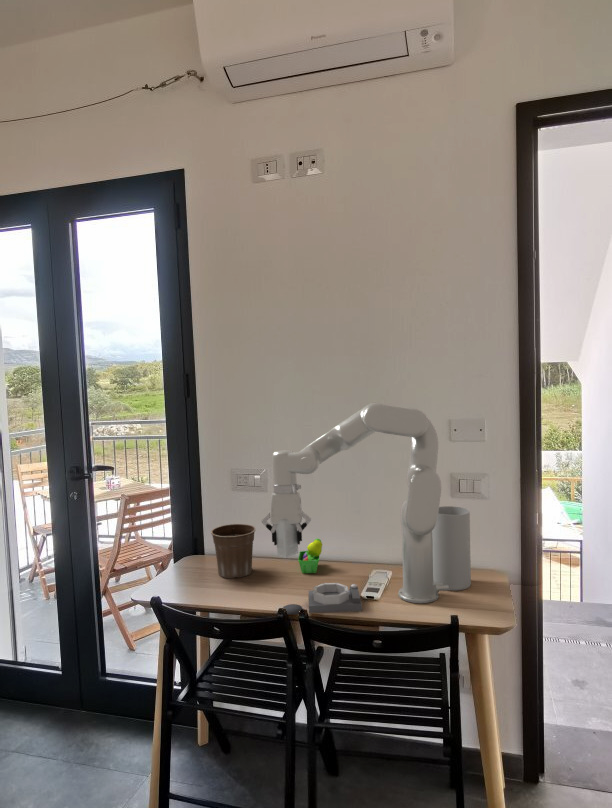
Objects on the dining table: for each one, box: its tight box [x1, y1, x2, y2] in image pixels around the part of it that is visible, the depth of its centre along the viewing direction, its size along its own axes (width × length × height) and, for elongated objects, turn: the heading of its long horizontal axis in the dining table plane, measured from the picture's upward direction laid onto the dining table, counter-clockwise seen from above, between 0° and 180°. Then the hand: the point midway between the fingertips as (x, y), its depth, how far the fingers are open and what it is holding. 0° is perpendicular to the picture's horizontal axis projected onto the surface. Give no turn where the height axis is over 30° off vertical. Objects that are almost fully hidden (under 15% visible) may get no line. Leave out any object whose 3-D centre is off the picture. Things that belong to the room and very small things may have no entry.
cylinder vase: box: [432, 505, 472, 591], centre depth 180 cm, size 12×12×25 cm
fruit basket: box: [297, 538, 323, 574], centre depth 200 cm, size 11×9×11 cm
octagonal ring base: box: [308, 582, 363, 613], centre depth 168 cm, size 16×12×4 cm
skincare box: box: [276, 520, 299, 559], centre depth 174 cm, size 6×4×12 cm
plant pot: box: [210, 523, 256, 579], centre depth 197 cm, size 16×16×16 cm
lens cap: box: [282, 603, 303, 615], centre depth 164 cm, size 6×6×1 cm
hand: (287, 543), depth 174 cm, fingers closed on skincare box, 6 cm apart
